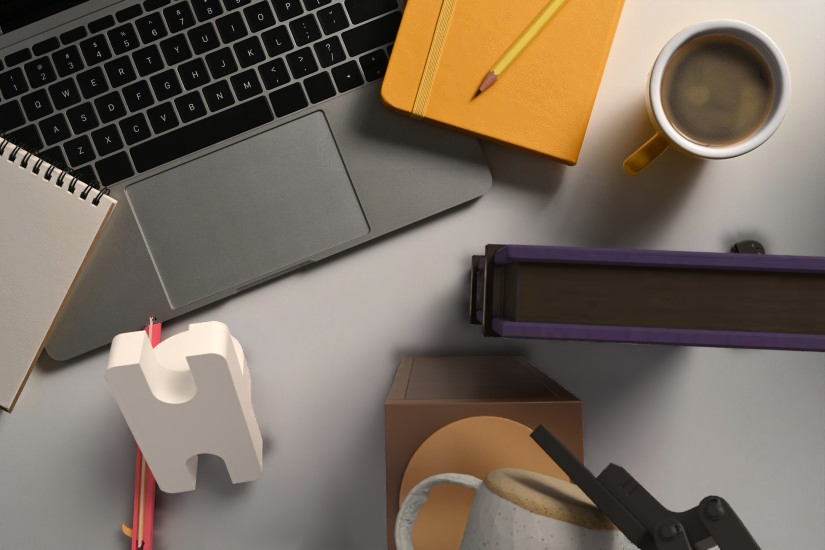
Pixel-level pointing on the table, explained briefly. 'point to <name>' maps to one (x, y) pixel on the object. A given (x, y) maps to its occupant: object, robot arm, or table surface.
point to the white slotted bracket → (187, 402)
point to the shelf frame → (472, 379)
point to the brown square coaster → (467, 453)
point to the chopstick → (144, 481)
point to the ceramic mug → (518, 514)
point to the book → (650, 297)
